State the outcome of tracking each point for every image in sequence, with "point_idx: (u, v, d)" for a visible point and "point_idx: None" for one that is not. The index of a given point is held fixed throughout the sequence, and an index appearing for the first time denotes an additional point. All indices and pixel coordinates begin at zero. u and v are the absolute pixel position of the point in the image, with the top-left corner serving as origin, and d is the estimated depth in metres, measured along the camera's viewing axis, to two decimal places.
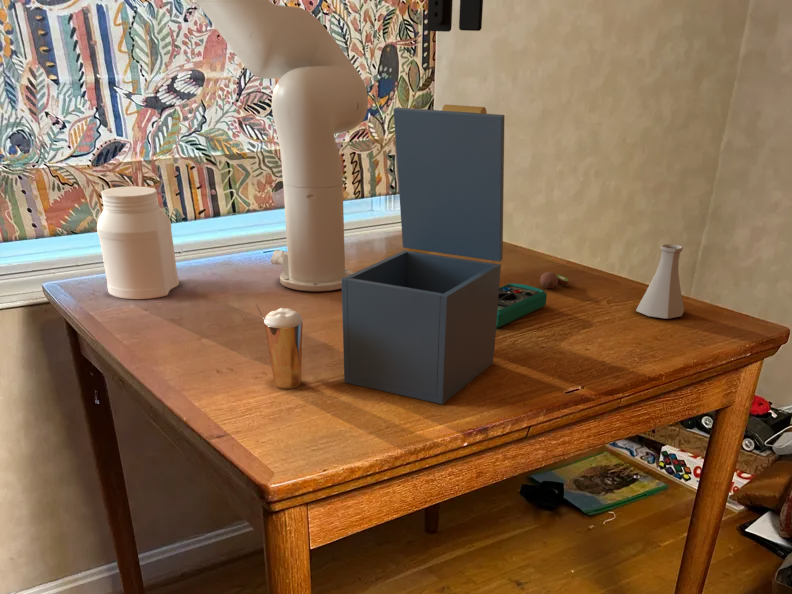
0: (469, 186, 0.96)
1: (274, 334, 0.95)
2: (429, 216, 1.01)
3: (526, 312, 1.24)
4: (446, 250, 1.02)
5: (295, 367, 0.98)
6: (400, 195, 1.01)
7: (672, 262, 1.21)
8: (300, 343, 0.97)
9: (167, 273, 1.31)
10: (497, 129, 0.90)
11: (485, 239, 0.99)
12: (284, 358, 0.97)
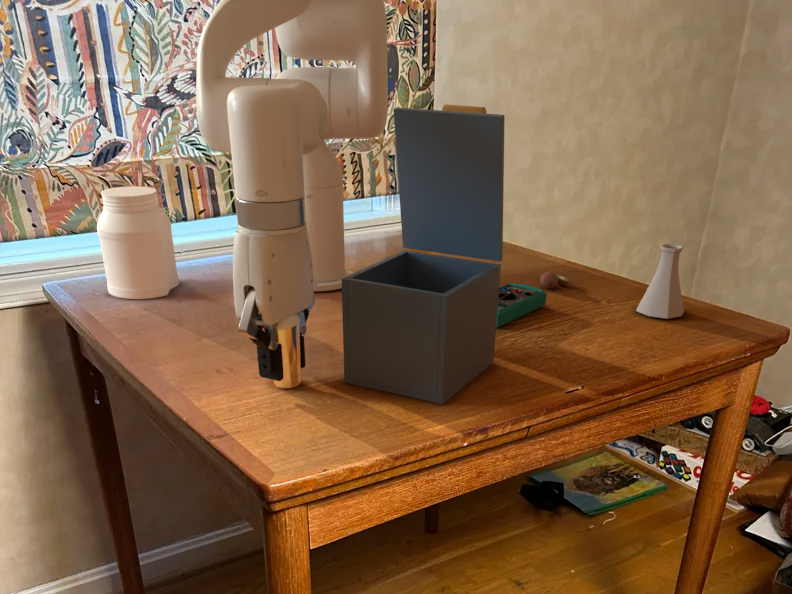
0: (469, 186, 0.96)
1: None
2: (429, 216, 1.01)
3: (526, 312, 1.24)
4: (446, 250, 1.02)
5: (294, 367, 0.98)
6: (400, 195, 1.01)
7: (672, 262, 1.21)
8: (298, 343, 0.97)
9: (167, 273, 1.31)
10: (497, 129, 0.90)
11: (485, 239, 0.99)
12: (282, 359, 0.97)
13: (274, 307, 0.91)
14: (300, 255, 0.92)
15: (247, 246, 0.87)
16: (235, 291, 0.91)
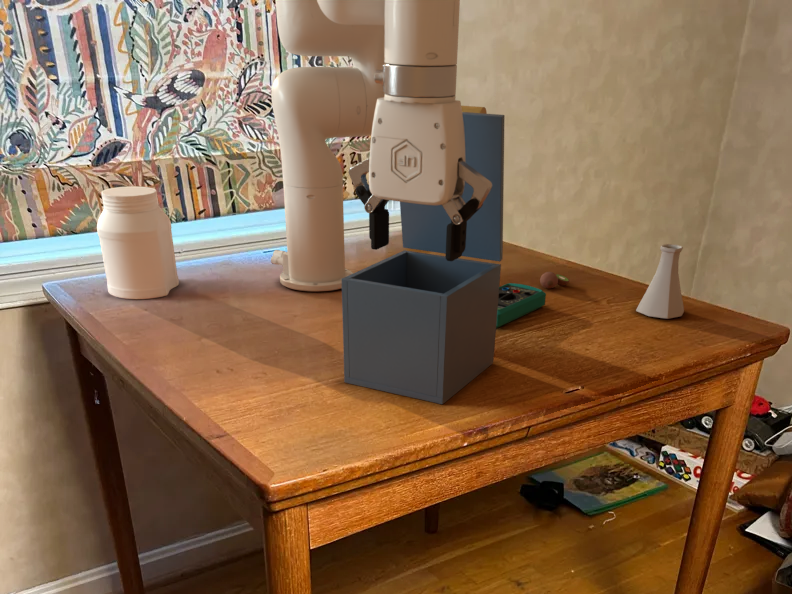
0: (469, 186, 0.96)
1: None
2: (429, 216, 1.01)
3: (525, 312, 1.24)
4: None
5: None
6: None
7: (672, 262, 1.21)
8: None
9: (167, 273, 1.31)
10: (497, 129, 0.90)
11: (485, 239, 0.99)
12: None
13: None
14: None
15: (458, 114, 0.85)
16: (451, 170, 0.86)
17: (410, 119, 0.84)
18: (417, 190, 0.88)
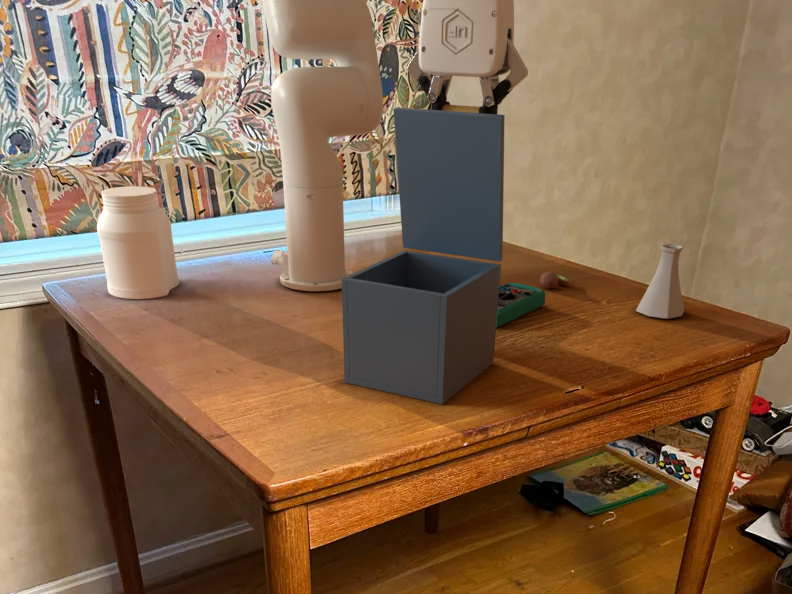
0: (469, 186, 0.96)
1: None
2: (429, 216, 1.01)
3: (525, 312, 1.24)
4: (446, 250, 1.02)
5: None
6: (400, 195, 1.01)
7: (672, 262, 1.21)
8: None
9: (167, 273, 1.31)
10: (497, 129, 0.90)
11: (485, 239, 0.99)
12: None
13: None
14: None
15: None
16: (501, 39, 0.88)
17: None
18: (467, 61, 0.90)
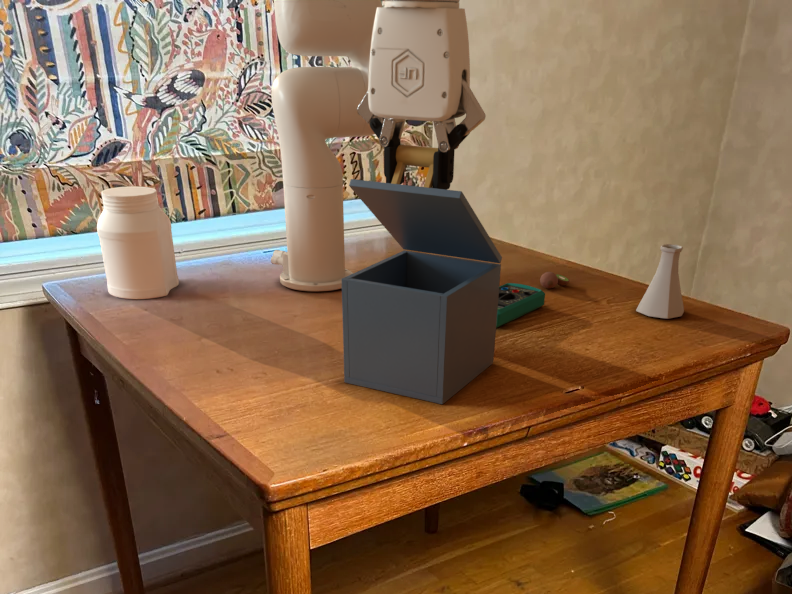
0: (448, 227, 0.94)
1: None
2: (419, 238, 1.00)
3: (525, 312, 1.24)
4: (445, 254, 1.03)
5: None
6: (384, 226, 0.99)
7: (672, 262, 1.21)
8: None
9: (167, 273, 1.31)
10: (459, 203, 0.86)
11: (480, 252, 0.99)
12: None
13: None
14: None
15: (462, 21, 0.80)
16: (455, 81, 0.81)
17: (411, 26, 0.80)
18: (419, 105, 0.83)
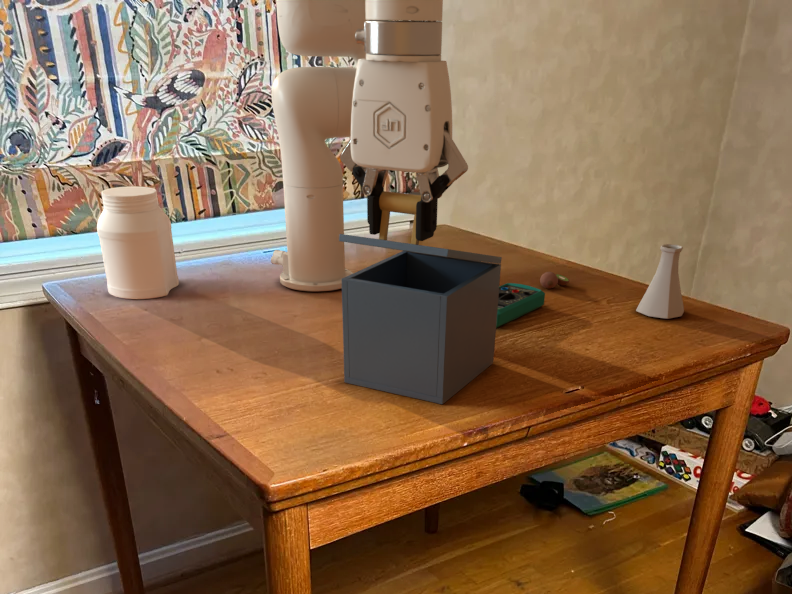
0: None
1: None
2: None
3: (524, 312, 1.24)
4: None
5: None
6: None
7: (672, 262, 1.21)
8: None
9: (167, 273, 1.31)
10: None
11: None
12: None
13: None
14: None
15: (444, 74, 0.80)
16: (436, 134, 0.81)
17: (392, 79, 0.80)
18: (401, 156, 0.83)
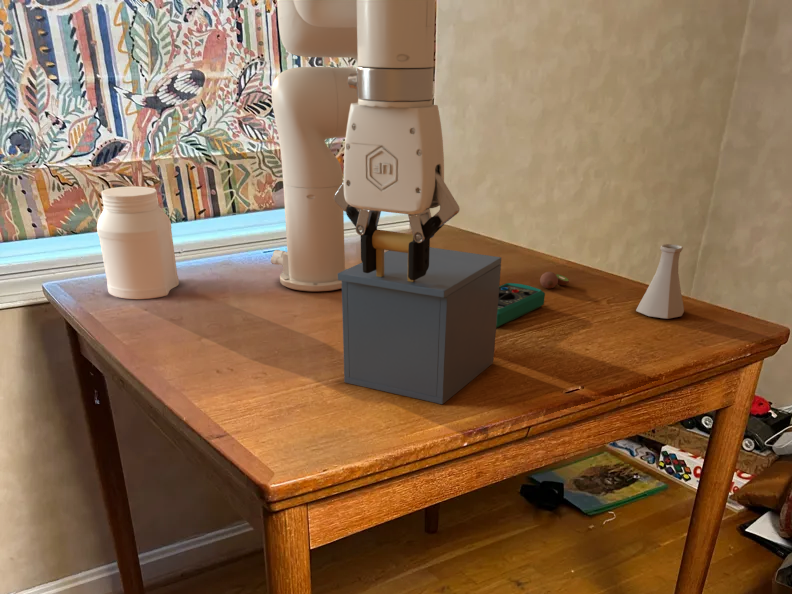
0: None
1: None
2: None
3: (524, 311, 1.24)
4: None
5: None
6: None
7: (672, 262, 1.21)
8: None
9: (167, 273, 1.31)
10: None
11: None
12: None
13: None
14: None
15: (435, 119, 0.81)
16: (428, 177, 0.82)
17: (384, 124, 0.81)
18: (393, 198, 0.84)
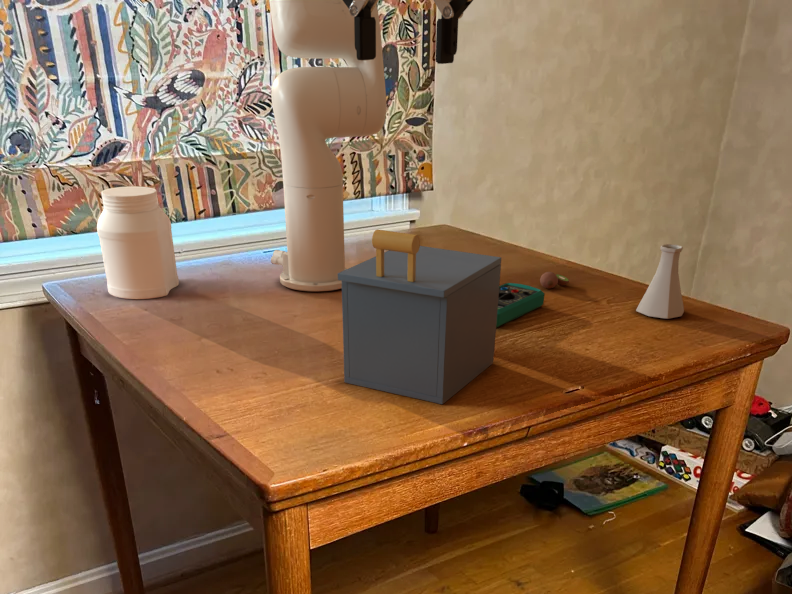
0: None
1: None
2: None
3: (524, 311, 1.24)
4: None
5: None
6: None
7: (672, 262, 1.21)
8: None
9: (167, 273, 1.31)
10: None
11: None
12: None
13: None
14: None
15: None
16: None
17: None
18: None
